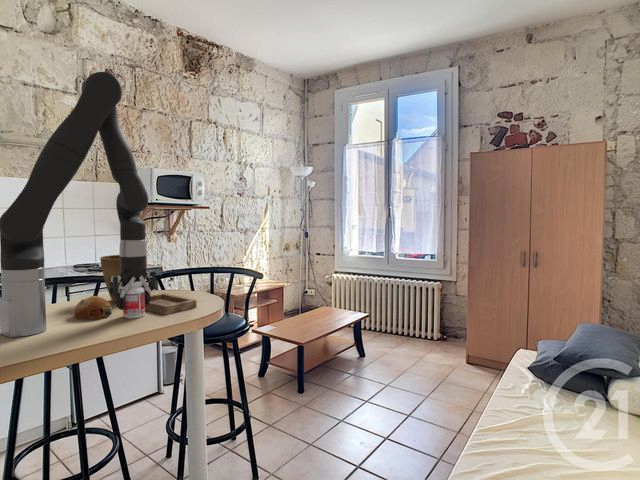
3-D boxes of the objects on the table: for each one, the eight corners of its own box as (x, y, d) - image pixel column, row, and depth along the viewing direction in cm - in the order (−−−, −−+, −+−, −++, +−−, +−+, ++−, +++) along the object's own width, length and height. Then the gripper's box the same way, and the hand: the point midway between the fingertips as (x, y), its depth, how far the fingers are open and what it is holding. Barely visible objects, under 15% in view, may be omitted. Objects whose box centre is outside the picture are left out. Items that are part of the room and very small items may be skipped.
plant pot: (130, 306, 136) (129, 259, 135) (91, 304, 138) (90, 258, 137) (155, 297, 151) (154, 255, 149) (119, 295, 153) (118, 253, 152)
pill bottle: (138, 312, 128) (137, 278, 128) (149, 315, 125) (148, 280, 124) (119, 316, 123) (118, 281, 123) (129, 320, 120) (129, 283, 119)
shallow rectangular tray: (165, 314, 127) (165, 306, 127) (132, 306, 137) (132, 298, 136) (196, 307, 137) (196, 300, 137) (163, 299, 147) (163, 293, 146)
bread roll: (102, 322, 130) (95, 299, 131) (122, 312, 125) (114, 288, 126) (72, 330, 121) (64, 305, 122) (92, 320, 117) (83, 294, 118)
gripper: (117, 257, 115) (118, 313, 116) (161, 253, 127) (161, 304, 128) (103, 255, 119) (104, 309, 120) (147, 251, 131) (147, 301, 132)
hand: (134, 306), depth 124 cm, fingers open, 7 cm apart
